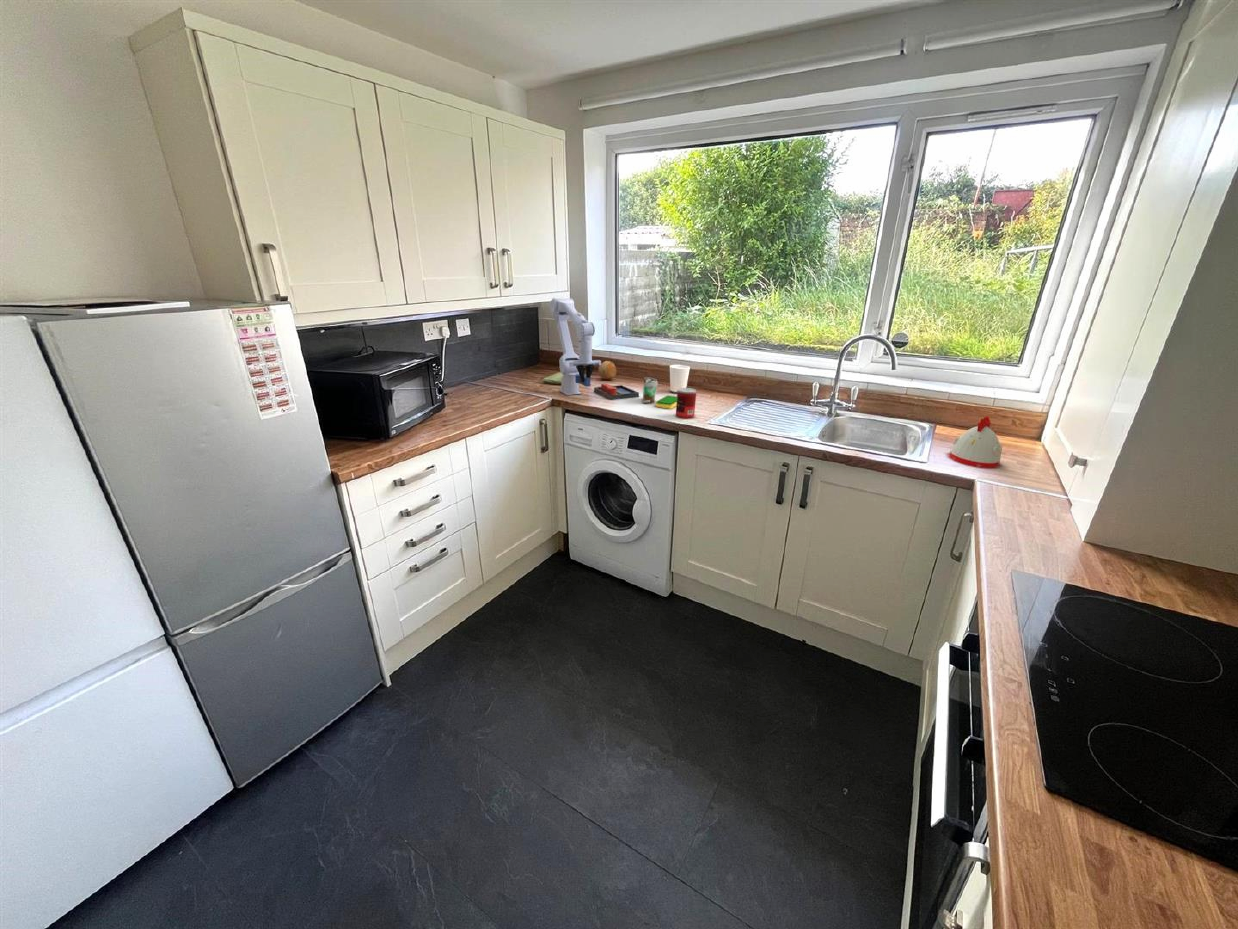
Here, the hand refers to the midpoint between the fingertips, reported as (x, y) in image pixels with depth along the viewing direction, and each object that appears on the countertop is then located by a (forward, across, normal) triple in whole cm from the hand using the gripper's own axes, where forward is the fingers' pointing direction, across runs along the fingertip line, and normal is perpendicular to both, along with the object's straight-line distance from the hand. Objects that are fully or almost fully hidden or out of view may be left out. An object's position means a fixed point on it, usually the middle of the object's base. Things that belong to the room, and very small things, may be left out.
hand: (585, 381), depth 224 cm
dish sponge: (+8, +32, -21) cm, 39 cm away
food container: (+8, +27, -13) cm, 31 cm away
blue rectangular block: (+1, 0, +3) cm, 3 cm away
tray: (+8, +18, +5) cm, 21 cm away
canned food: (+8, +28, -39) cm, 49 cm away
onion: (+8, +29, +36) cm, 47 cm away
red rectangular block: (+8, +14, +4) cm, 17 cm away
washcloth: (+8, +4, +39) cm, 41 cm away
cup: (+8, +49, -2) cm, 50 cm away
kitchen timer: (+8, +89, -121) cm, 150 cm away
